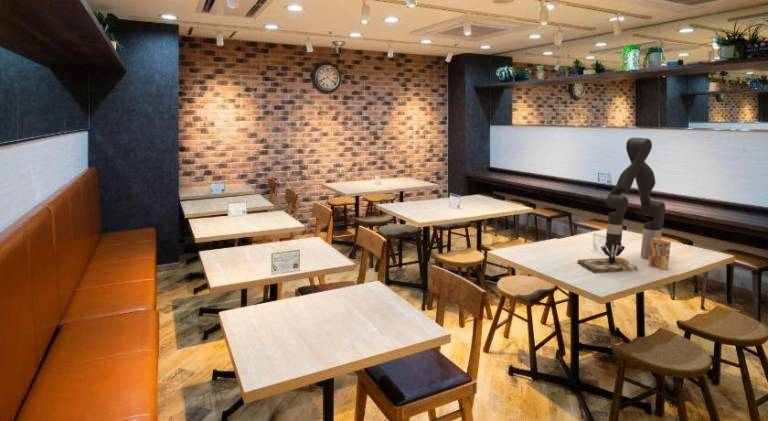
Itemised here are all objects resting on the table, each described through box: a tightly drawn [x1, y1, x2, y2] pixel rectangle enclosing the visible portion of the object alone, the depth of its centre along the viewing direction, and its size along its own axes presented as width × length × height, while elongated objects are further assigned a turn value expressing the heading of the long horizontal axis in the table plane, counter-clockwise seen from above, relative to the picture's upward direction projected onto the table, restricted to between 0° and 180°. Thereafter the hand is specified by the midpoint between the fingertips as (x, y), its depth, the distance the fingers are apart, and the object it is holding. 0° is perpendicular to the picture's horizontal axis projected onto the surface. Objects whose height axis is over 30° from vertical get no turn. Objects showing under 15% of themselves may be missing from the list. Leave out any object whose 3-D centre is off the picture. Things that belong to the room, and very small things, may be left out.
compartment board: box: [577, 257, 638, 274], centre depth 263 cm, size 24×17×4 cm
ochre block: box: [614, 256, 630, 266], centre depth 260 cm, size 6×6×3 cm
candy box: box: [647, 238, 672, 270], centre depth 260 cm, size 9×4×15 cm, turn 34°
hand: (611, 263), depth 259 cm, fingers closed
